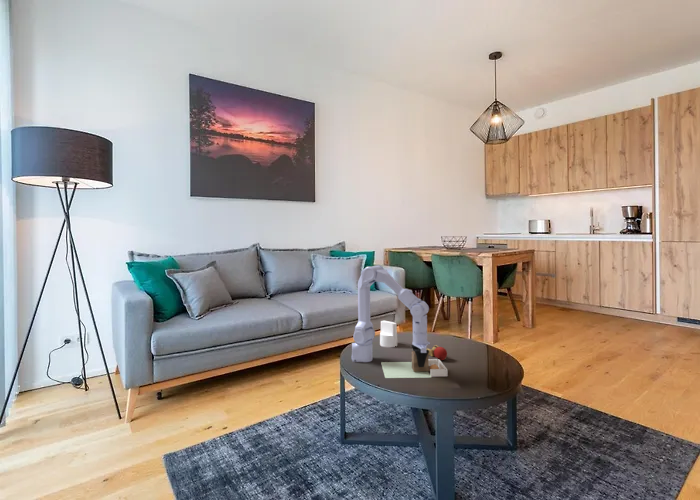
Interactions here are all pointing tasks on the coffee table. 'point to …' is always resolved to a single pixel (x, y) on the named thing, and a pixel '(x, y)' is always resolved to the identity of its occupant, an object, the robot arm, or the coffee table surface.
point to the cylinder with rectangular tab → (388, 334)
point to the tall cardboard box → (415, 363)
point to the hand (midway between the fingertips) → (419, 364)
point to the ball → (433, 367)
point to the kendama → (438, 352)
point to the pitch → (407, 372)
